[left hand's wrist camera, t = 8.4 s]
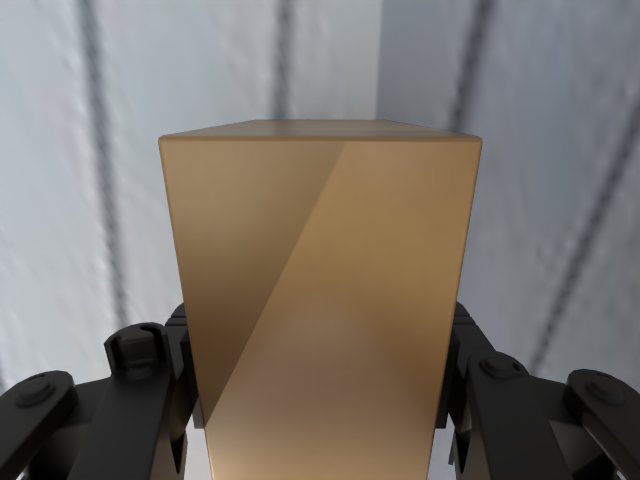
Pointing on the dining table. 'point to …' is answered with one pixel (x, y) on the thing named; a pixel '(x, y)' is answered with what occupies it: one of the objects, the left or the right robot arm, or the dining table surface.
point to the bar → (319, 289)
